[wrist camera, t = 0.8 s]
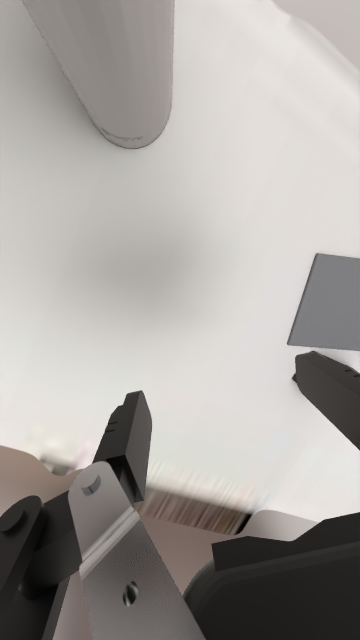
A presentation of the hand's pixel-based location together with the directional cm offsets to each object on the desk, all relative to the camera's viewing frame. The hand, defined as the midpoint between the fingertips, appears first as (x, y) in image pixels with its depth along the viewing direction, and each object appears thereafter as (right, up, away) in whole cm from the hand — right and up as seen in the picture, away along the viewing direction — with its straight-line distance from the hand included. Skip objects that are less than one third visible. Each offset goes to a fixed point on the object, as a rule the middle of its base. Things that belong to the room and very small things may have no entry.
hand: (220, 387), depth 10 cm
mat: (+24, +5, +20) cm, 32 cm away
